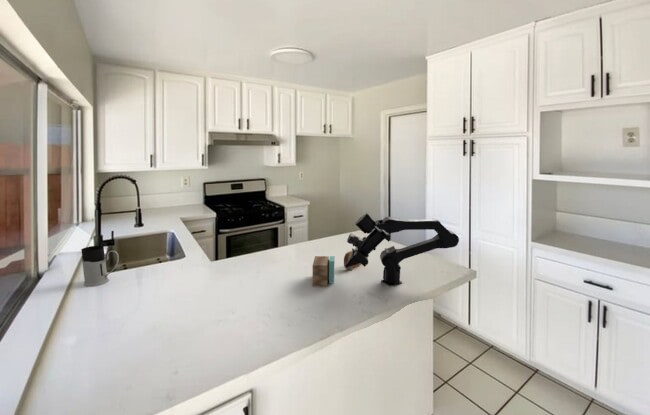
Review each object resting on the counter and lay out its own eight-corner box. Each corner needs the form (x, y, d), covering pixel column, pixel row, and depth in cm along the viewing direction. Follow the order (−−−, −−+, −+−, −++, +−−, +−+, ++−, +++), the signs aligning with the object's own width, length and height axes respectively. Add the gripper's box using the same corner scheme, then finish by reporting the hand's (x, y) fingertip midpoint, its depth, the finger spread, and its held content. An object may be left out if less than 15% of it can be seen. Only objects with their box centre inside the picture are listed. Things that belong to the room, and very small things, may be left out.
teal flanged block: (334, 276, 141) (334, 256, 140) (333, 283, 134) (334, 261, 133) (314, 276, 142) (314, 255, 140) (313, 282, 135) (313, 260, 133)
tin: (347, 272, 148) (348, 254, 147) (342, 270, 150) (342, 253, 149) (364, 263, 160) (364, 247, 159) (358, 262, 162) (359, 246, 161)
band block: (329, 275, 144) (329, 256, 142) (328, 286, 132) (328, 265, 130) (315, 275, 144) (315, 256, 143) (312, 286, 132) (312, 265, 131)
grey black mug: (92, 278, 139) (88, 245, 137) (126, 278, 140) (123, 244, 138) (78, 287, 131) (74, 251, 128) (115, 286, 132) (111, 250, 129)
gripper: (357, 223, 143) (333, 247, 145) (359, 233, 124) (331, 260, 127) (375, 240, 143) (350, 264, 146) (380, 252, 125) (351, 279, 127)
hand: (346, 266), depth 136 cm, fingers closed
